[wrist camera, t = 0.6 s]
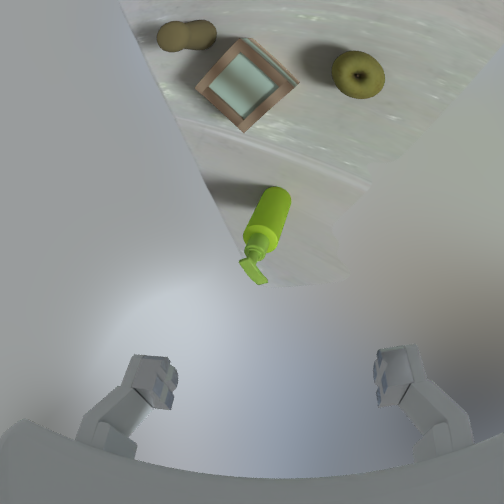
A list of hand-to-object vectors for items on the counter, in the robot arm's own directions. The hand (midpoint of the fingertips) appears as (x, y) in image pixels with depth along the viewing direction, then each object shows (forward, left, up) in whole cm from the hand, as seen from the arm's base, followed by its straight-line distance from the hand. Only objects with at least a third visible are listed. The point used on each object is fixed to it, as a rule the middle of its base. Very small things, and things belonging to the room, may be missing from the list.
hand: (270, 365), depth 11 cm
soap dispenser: (+21, +9, -45) cm, 50 cm away
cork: (+7, -24, -45) cm, 52 cm away
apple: (-7, -1, -45) cm, 46 cm away
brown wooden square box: (+7, -11, -45) cm, 47 cm away
